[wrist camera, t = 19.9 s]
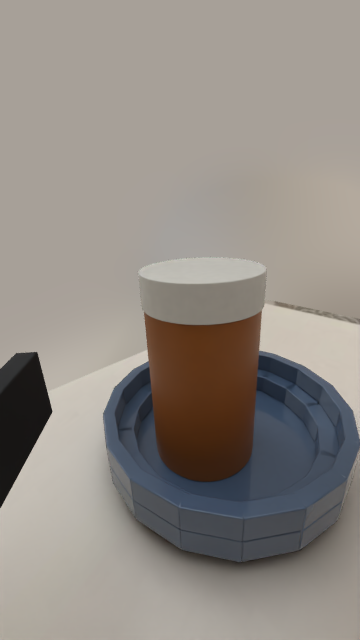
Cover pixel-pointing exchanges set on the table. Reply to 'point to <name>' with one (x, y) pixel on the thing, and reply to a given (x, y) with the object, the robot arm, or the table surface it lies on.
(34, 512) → the table surface
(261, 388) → the bowl
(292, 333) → the table surface
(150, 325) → the vitamin bottle
